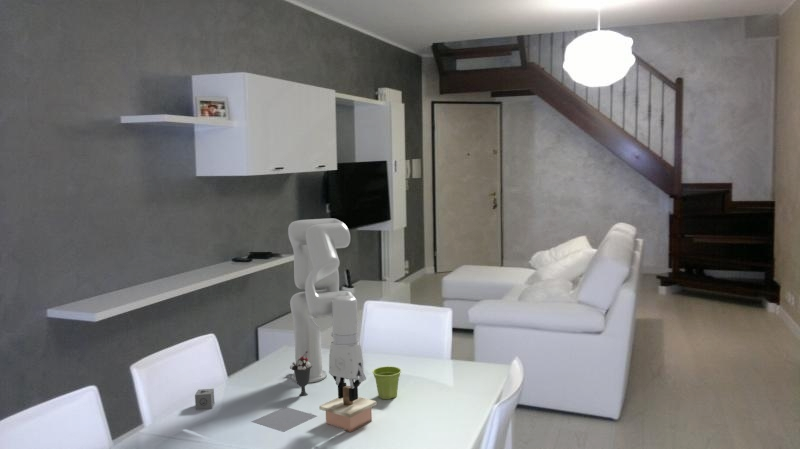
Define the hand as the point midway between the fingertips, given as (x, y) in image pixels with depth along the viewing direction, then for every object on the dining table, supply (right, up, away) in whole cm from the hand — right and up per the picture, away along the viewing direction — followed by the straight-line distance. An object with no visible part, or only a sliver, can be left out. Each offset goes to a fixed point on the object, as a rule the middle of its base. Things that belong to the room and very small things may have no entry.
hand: (348, 398), depth 194 cm
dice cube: (-48, -8, +18) cm, 52 cm away
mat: (-20, -8, +4) cm, 22 cm away
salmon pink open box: (0, -8, +1) cm, 8 cm away
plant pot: (+11, -6, +22) cm, 26 cm away
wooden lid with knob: (0, -3, 0) cm, 3 cm away
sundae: (-17, -6, +25) cm, 30 cm away
